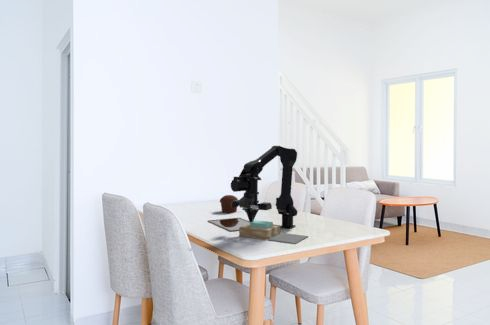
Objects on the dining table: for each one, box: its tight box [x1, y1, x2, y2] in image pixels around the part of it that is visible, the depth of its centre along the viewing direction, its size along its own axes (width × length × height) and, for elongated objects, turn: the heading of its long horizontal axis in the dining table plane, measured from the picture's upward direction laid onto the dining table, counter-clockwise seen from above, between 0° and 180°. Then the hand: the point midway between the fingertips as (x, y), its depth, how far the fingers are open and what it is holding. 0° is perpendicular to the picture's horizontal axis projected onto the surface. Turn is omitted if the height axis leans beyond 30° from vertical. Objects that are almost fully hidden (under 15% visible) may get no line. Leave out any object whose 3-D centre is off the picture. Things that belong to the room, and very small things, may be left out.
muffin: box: [219, 194, 239, 214], centre depth 258 cm, size 12×11×10 cm
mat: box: [266, 232, 309, 245], centre depth 189 cm, size 15×13×1 cm
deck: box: [238, 223, 281, 241], centre depth 196 cm, size 14×14×4 cm
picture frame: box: [207, 217, 250, 233], centre depth 220 cm, size 19×1×28 cm
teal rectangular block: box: [250, 219, 274, 229], centre depth 196 cm, size 6×9×2 cm, turn 61°
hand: (251, 223), depth 198 cm, fingers closed
